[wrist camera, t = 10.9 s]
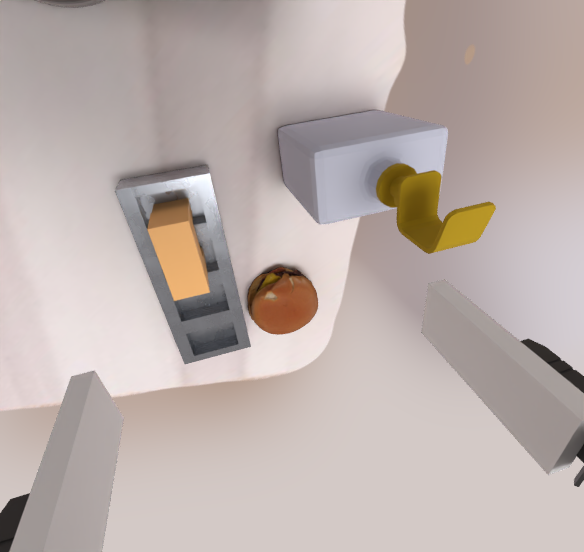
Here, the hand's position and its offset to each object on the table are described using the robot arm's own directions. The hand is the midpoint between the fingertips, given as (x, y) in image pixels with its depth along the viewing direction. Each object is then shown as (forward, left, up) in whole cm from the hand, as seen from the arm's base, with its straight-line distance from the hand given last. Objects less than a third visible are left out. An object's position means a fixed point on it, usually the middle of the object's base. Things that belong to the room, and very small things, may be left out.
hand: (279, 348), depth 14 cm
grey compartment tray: (+12, -6, -29) cm, 31 cm away
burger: (+19, +4, -29) cm, 35 cm away
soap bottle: (0, +13, -29) cm, 32 cm away
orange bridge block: (+6, -6, -27) cm, 28 cm away
